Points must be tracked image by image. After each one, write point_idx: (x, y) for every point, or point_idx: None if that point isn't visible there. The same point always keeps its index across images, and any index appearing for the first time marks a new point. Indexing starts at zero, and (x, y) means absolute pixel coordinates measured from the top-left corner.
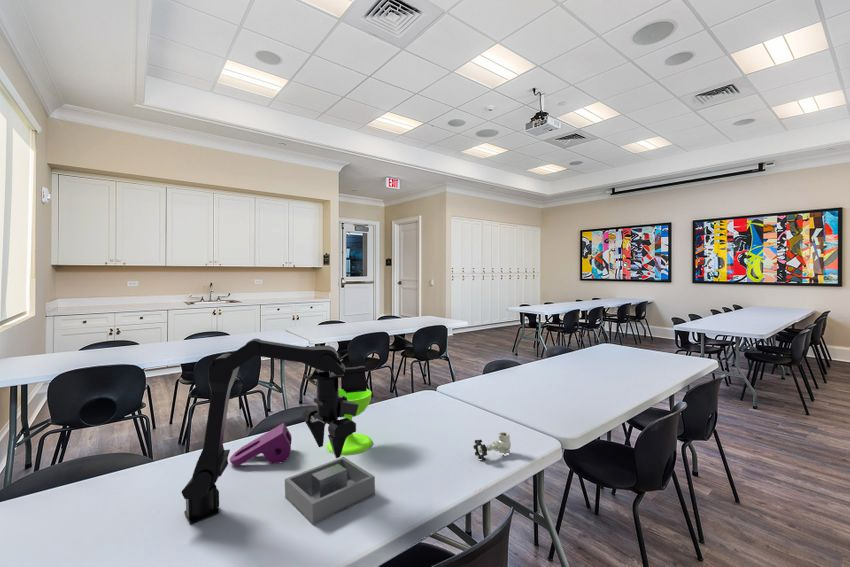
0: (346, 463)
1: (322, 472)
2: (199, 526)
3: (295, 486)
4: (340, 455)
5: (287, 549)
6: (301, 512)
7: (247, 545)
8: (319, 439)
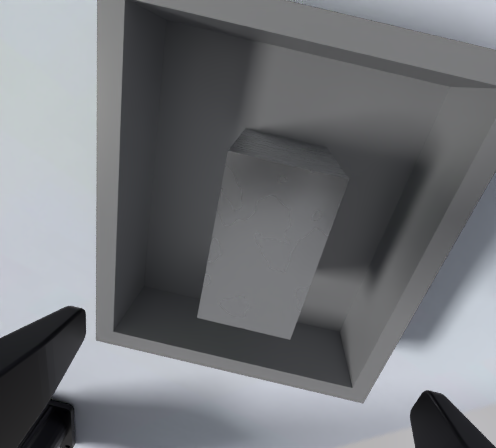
0: (192, 15)
1: (232, 280)
2: (96, 439)
3: (191, 357)
4: (456, 408)
5: (358, 417)
6: None
7: (256, 438)
8: (22, 410)
